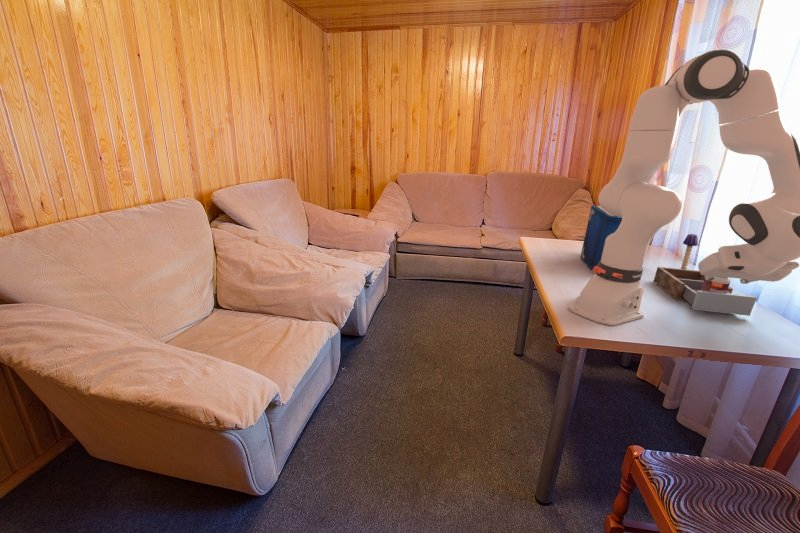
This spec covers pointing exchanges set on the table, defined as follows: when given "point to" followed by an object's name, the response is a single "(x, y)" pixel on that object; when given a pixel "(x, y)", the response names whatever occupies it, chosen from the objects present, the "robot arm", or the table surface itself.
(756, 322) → the table surface
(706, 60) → the robot arm
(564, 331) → the table surface
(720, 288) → the pill bottle
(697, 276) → the walnut box
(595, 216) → the book
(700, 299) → the tray
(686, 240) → the toy lamp
